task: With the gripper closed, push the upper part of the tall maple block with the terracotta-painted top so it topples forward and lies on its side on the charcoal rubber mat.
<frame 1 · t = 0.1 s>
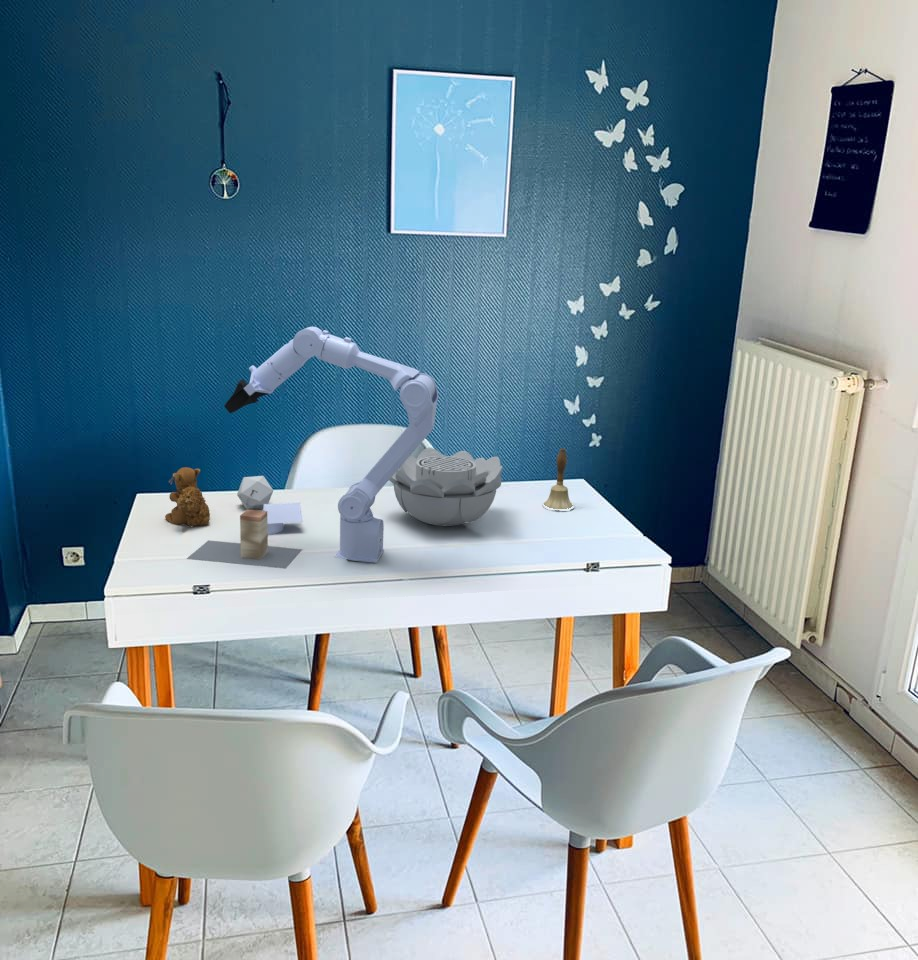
hand: (233, 405, 206), 32 cm above the table, tool tilted 50°, fingers open, 7 cm apart
rubber mat: (245, 556, 208), on the table
maple block: (254, 554, 208), point 1 cm above the table, touching rubber mat
brown furry figure: (191, 523, 228), on the table
decorative bowl: (446, 522, 238), on the table
hand bell: (558, 507, 253), on the table
die: (255, 507, 242), on the table
wedge on round base: (272, 531, 225), on the table
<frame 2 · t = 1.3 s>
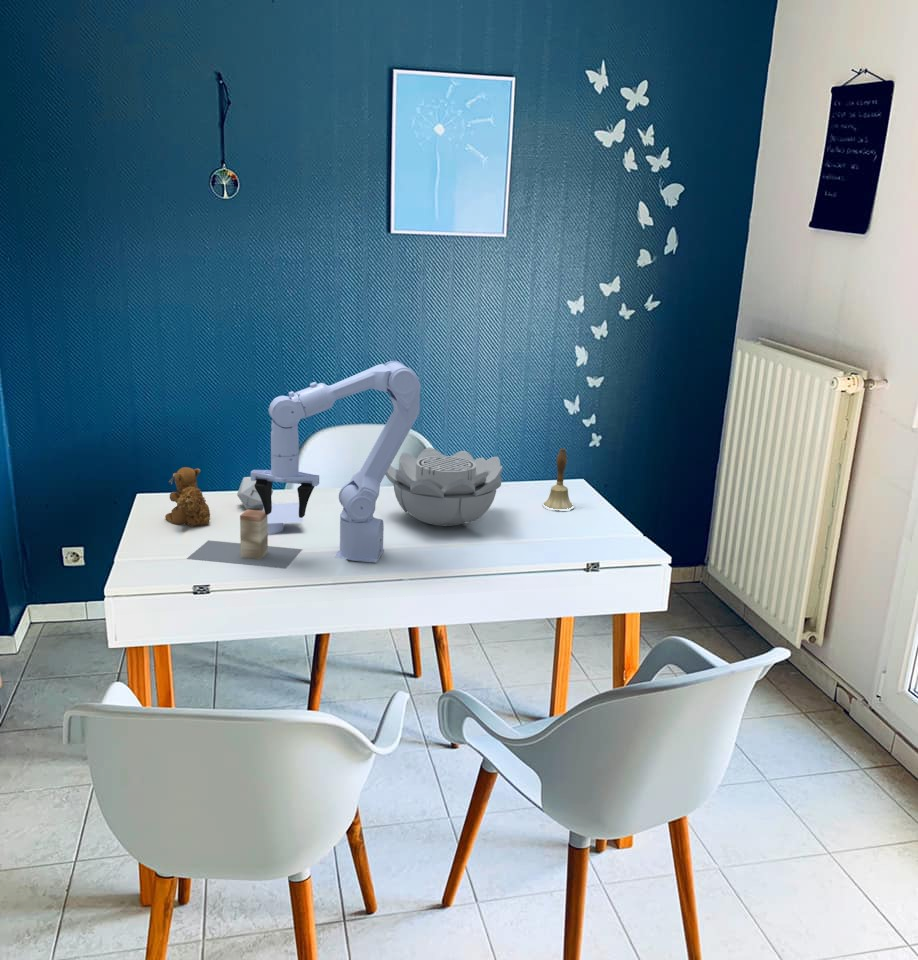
hand: (285, 514, 204), 10 cm above the table, tool pointing down, fingers open, 7 cm apart
nothing on the table moved.
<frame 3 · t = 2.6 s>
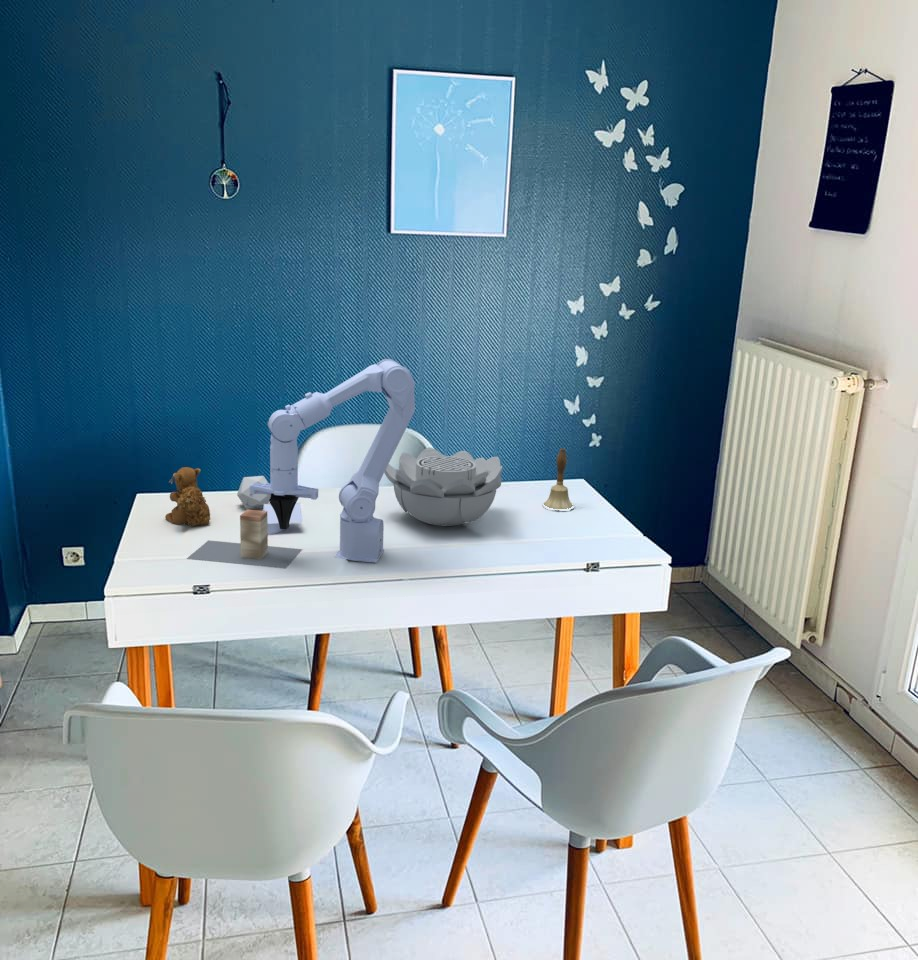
hand: (284, 527, 205), 7 cm above the table, tool pointing down, fingers closed
nothing on the table moved.
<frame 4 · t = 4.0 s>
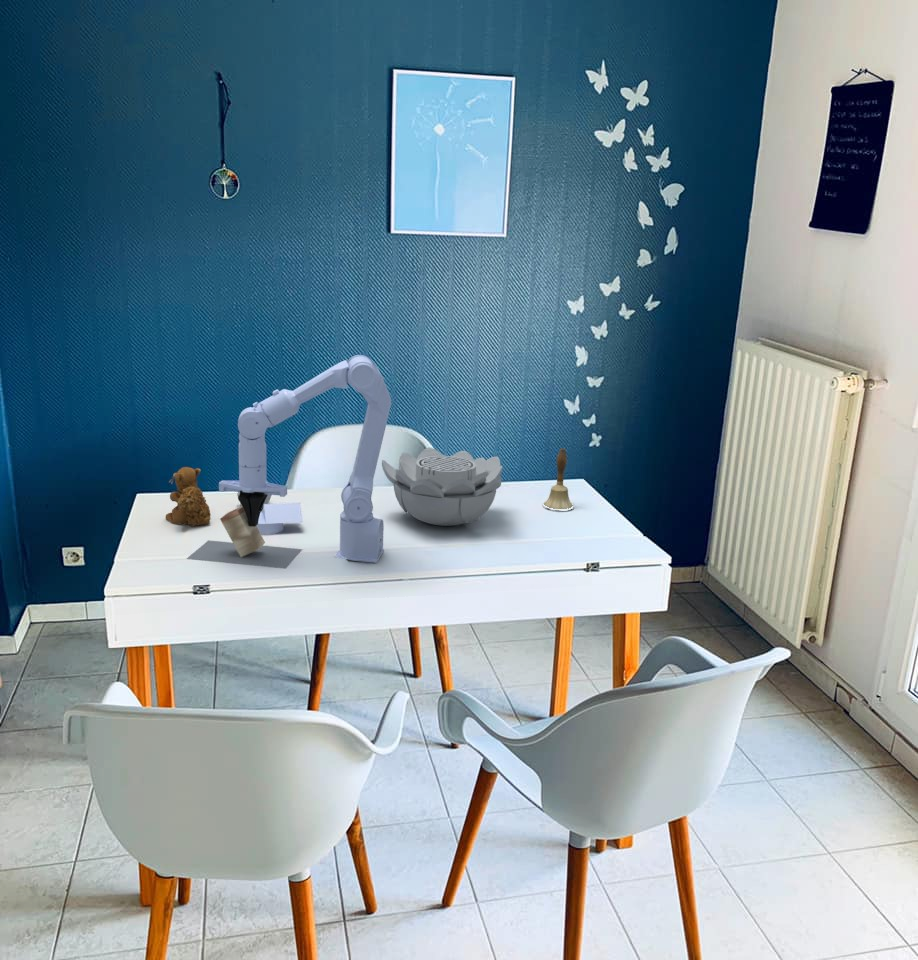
hand: (253, 525, 206), 7 cm above the table, tool pointing down, fingers closed
maple block: (253, 549, 207), point 2 cm above the table, tilted 28°, touching rubber mat
everything else where it was.
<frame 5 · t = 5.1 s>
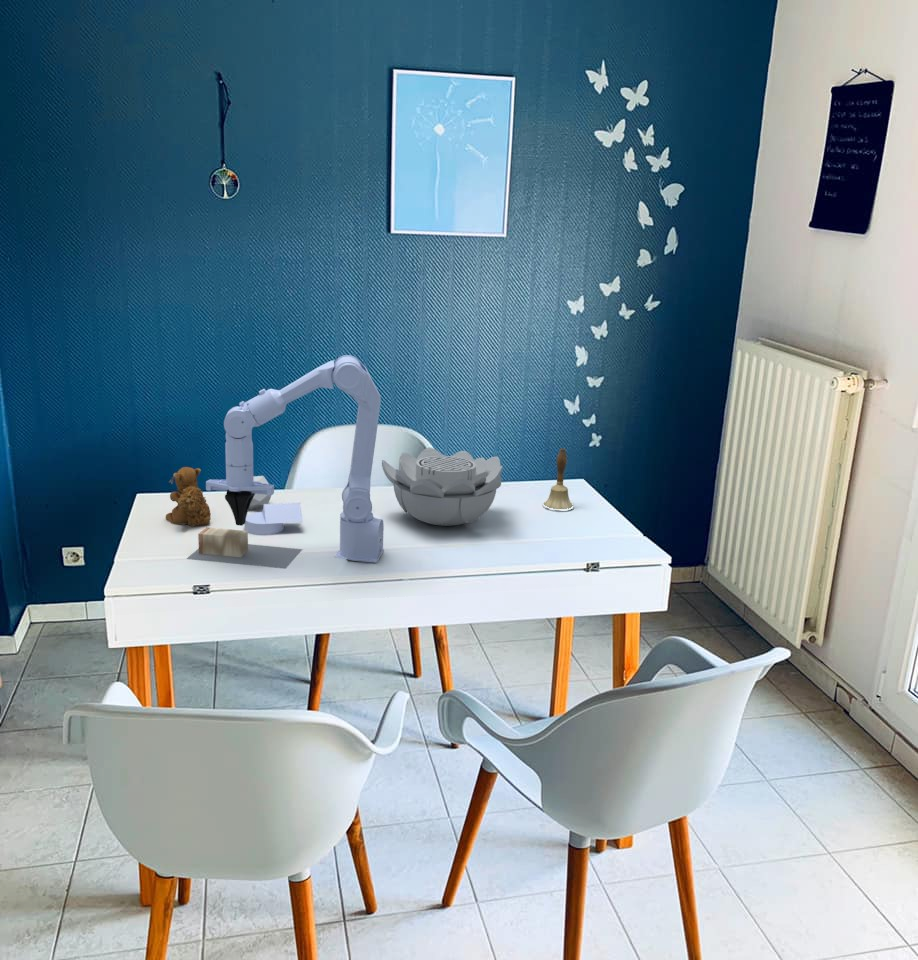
hand: (240, 524, 206), 7 cm above the table, tool pointing down, fingers closed
maple block: (244, 544, 207), point 3 cm above the table, tilted 90°, touching rubber mat
everything else where it was.
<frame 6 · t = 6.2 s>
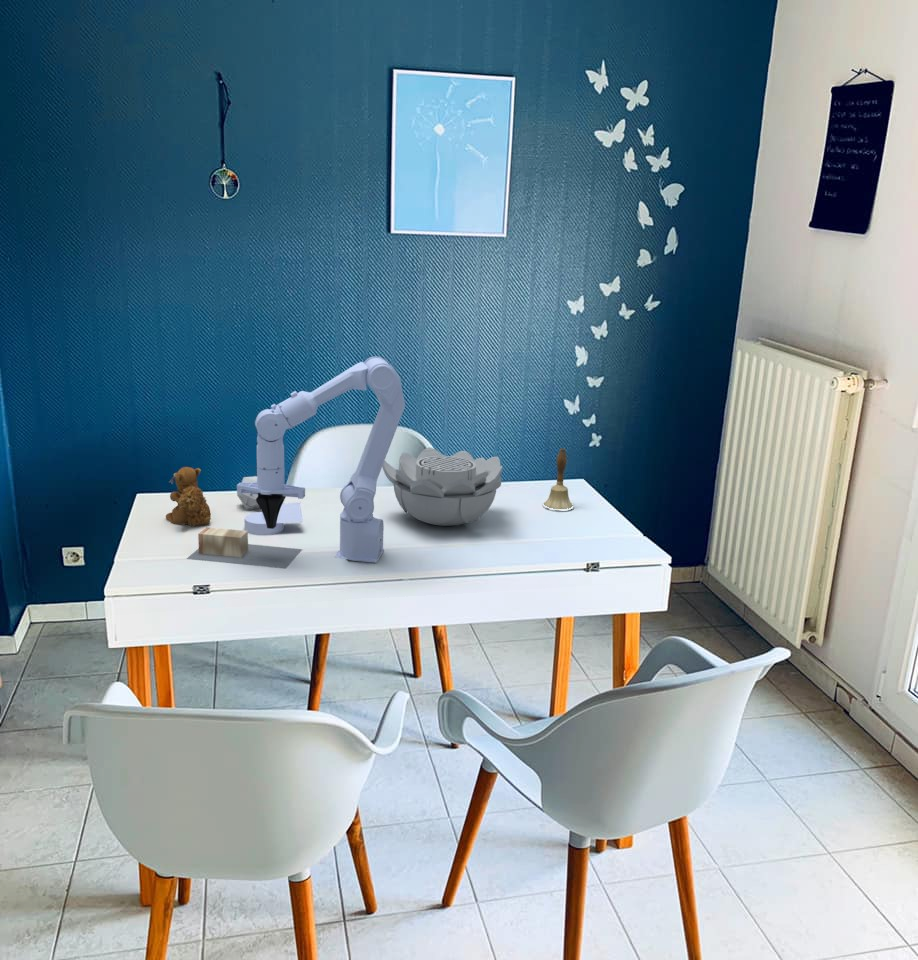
hand: (271, 527, 205), 7 cm above the table, tool pointing down, fingers closed
nothing on the table moved.
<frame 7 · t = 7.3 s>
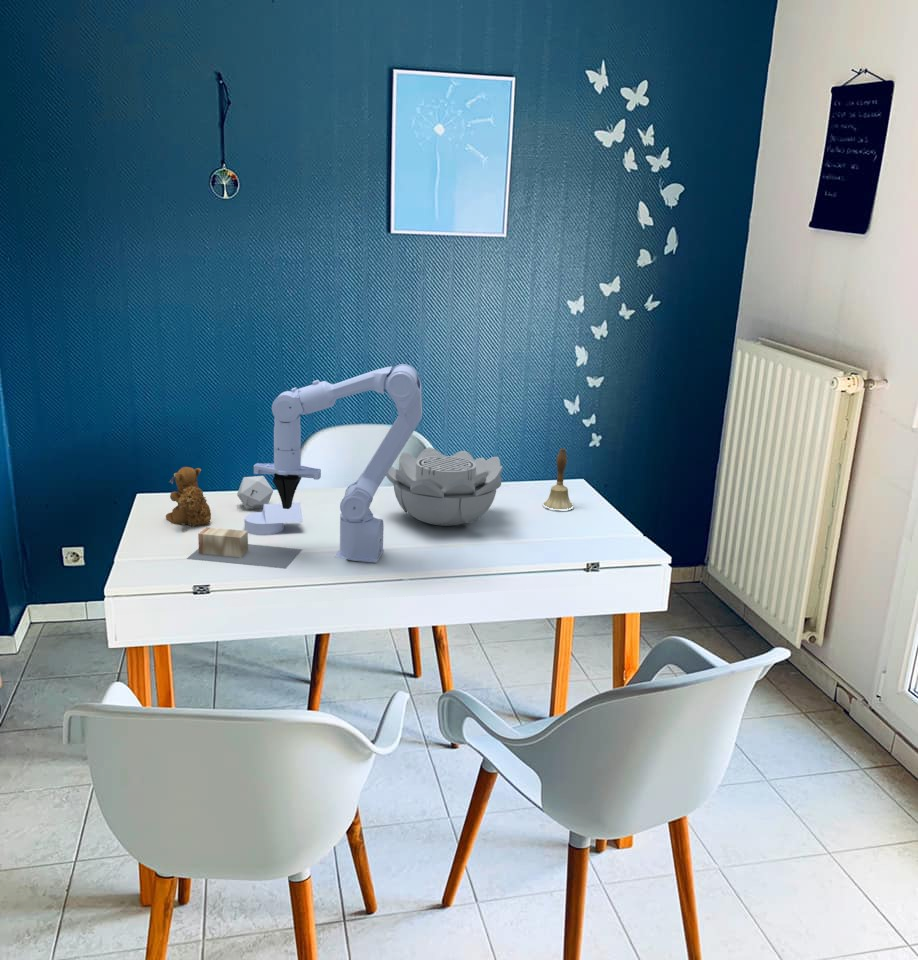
hand: (287, 507, 209), 10 cm above the table, tool pointing down, fingers closed
nothing on the table moved.
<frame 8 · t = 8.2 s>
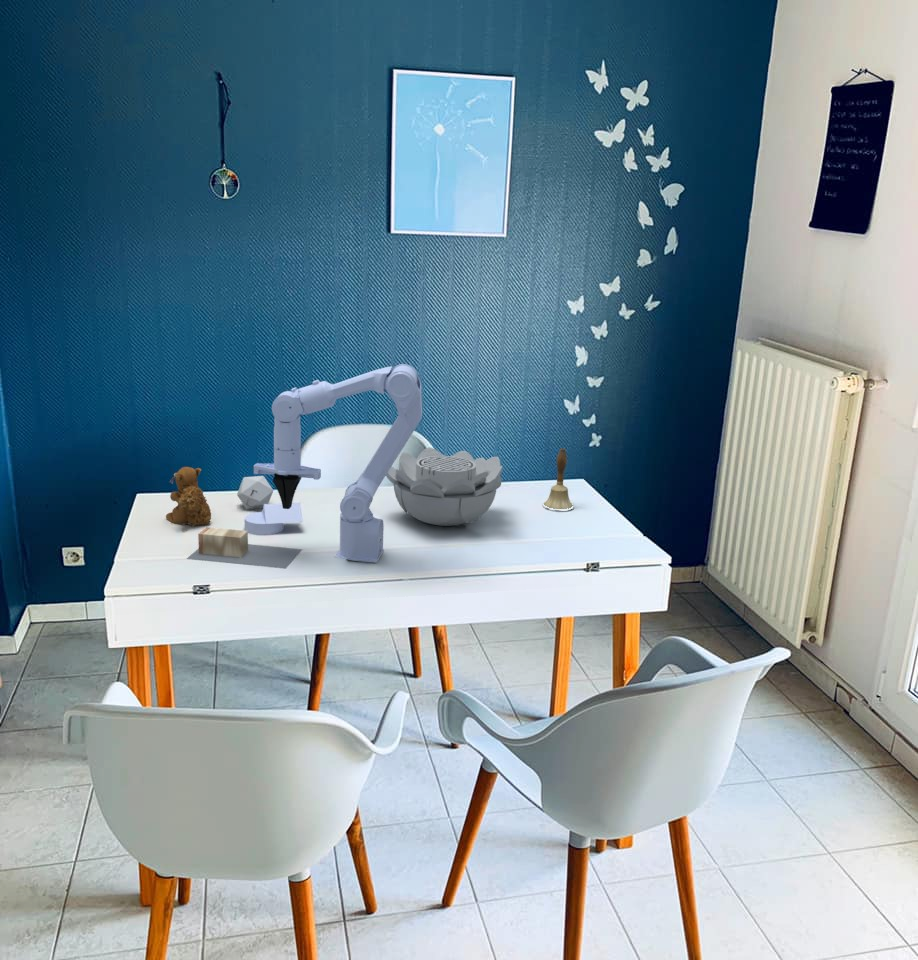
hand: (287, 507, 209), 10 cm above the table, tool pointing down, fingers closed
nothing on the table moved.
at the end: maple block tilted 90°; maple block inside the target area (2.2 cm from its centre), point 2.8 cm above the table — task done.
